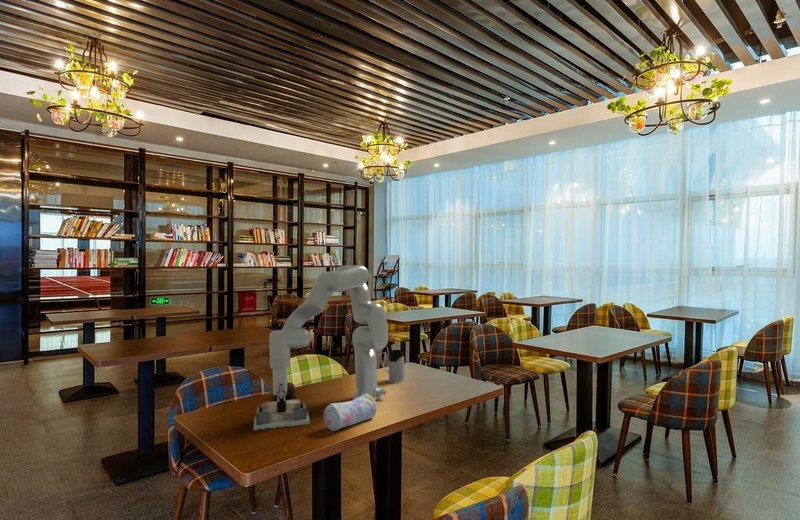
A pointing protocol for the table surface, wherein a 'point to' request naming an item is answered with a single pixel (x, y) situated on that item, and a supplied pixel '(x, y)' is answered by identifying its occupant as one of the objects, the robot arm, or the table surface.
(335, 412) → the pencil case
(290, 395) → the icecream
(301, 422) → the base board
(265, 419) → the end caps
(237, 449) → the table surface
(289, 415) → the beige long block
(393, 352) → the glass holder
